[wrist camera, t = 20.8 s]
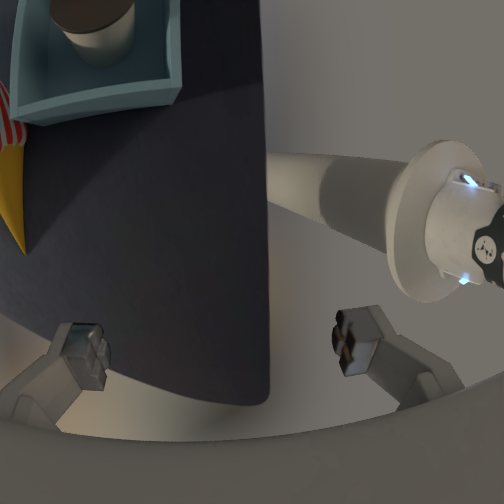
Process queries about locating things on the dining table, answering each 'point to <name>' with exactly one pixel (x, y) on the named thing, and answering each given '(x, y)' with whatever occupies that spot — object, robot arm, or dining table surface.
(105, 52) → the paper cup
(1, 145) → the ice cream cone
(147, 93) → the bin
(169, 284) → the dining table surface
